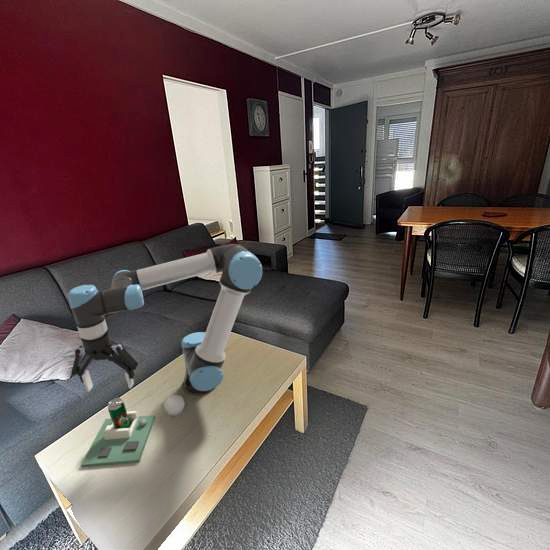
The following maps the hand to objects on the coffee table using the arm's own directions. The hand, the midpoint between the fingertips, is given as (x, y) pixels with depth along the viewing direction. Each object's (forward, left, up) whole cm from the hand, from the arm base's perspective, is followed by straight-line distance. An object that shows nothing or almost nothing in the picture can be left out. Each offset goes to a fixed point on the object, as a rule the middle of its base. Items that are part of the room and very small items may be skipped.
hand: (110, 387), depth 102 cm
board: (-1, +4, -20) cm, 20 cm away
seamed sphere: (-16, -7, -20) cm, 27 cm away
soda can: (0, 0, -19) cm, 19 cm away
